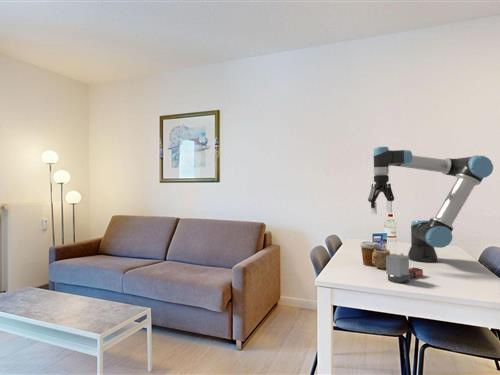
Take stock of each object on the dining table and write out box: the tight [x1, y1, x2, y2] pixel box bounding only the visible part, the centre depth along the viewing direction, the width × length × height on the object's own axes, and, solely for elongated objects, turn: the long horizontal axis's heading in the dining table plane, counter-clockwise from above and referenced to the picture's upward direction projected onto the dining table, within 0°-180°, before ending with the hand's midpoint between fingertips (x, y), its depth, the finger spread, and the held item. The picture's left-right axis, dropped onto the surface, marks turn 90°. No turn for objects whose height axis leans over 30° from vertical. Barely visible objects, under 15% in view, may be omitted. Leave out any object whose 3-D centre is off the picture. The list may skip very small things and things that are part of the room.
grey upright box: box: [385, 254, 410, 277], centre depth 139 cm, size 7×7×8 cm
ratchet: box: [387, 266, 424, 285], centre depth 142 cm, size 20×9×9 cm, turn 121°
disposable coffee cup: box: [360, 241, 379, 267], centre depth 167 cm, size 10×10×12 cm
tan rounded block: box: [372, 247, 405, 270], centre depth 158 cm, size 9×16×10 cm, turn 74°
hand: (381, 213), depth 166 cm, fingers open, 13 cm apart
